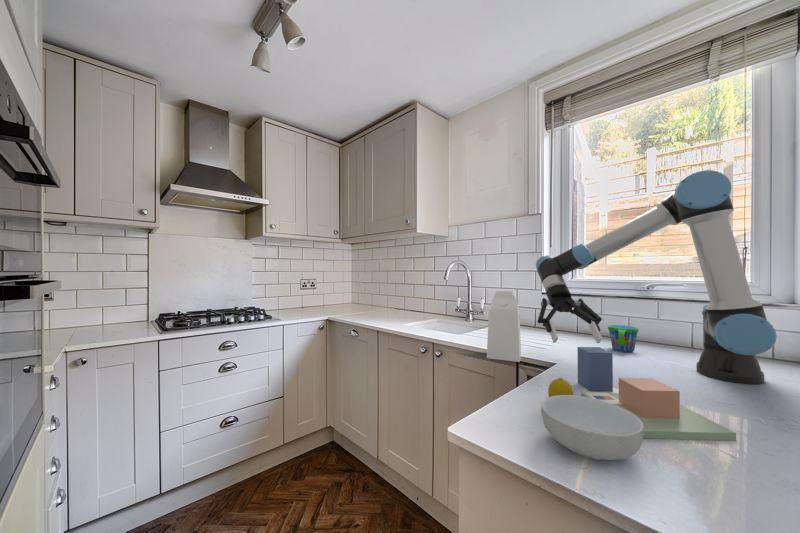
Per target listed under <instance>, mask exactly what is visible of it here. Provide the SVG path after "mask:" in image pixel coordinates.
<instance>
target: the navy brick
mask: <svg viewBox="0 0 800 533" xmlns="http://www.w3.org/2000/svg"><path fill="white" fill-rule="evenodd" d="M613 354H614V353H613V352H612V351H610V350H607V349H605V348H602V347H600V346H577V384H578V385H580V386H581V387H582V388H584V389H585V390H587V392H598V393H614V391H613V390H614V383H613V382H614V378H613V376H614V374H613V370H614V369H613V368H614V367H613V366H614V365H613V360H614V359H613Z"/></svg>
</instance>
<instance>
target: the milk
mask: <svg viewBox="0 0 800 533" xmlns="http://www.w3.org/2000/svg"><path fill="white" fill-rule="evenodd" d="M487 321H488V324H487V326H488V328H487V346H486V347H487V348H486V359H490V360H491V359H492V360H499V361H507V362H517V363H520V362H521V357H522V343H521V320H520V307H519V304H518V302H517V299H516V296H515V295H514V292H513V290H496V291H495V293H494V295H493V298H492V300H491V303H490V306H489V310H488V320H487Z"/></svg>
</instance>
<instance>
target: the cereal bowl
mask: <svg viewBox="0 0 800 533" xmlns="http://www.w3.org/2000/svg"><path fill="white" fill-rule="evenodd" d="M540 410H541V419H542V422H543V426H544V427H545V428H546V431H547V432H548V434H550V436H551V437H552V439H554V440H555V441H556V442H558V443H559V444H560V445H562V446H563V447H565V448H567V449H569V450H571V451H572V452H574V453H575V454H577V455H579V456H580V457H584V458H588V459H591V460H596V461H604V460H605V461H614V460H615V461H618V460H624V459H628V458H629V457H630V458H631V457H633V456H634V455H635V454H636V453H637V452H638V451H639V450H640V449H641V447H642V444H643V442H644V441H643V440H644V438H643V434H644V426H643V423H642V421H641V420H640V419H639V418H638V417H637V416H635V415H634V414H632V413H631V412H629V411H627V410H625V409H623V408H621V407H619V406H616V405H614V404H611V403H608V402H605V401H601V400H598V399H593V398H589V397H583V396H581V395H575V394H574V395H557V396H551V397H549V396H548V397H547V398H545V399H544V400H543V401H542V402H541V408H540Z"/></svg>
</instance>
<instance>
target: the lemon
mask: <svg viewBox="0 0 800 533" xmlns="http://www.w3.org/2000/svg"><path fill="white" fill-rule="evenodd" d="M557 395H575V392H574V390H573V387H572V385H571V384H570V382H568V381H567V380H565V379H564V378H563V377H558V378H555V379H553V380H552V381H551V382H550V383H549V385H548V397H551V396H557Z"/></svg>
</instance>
